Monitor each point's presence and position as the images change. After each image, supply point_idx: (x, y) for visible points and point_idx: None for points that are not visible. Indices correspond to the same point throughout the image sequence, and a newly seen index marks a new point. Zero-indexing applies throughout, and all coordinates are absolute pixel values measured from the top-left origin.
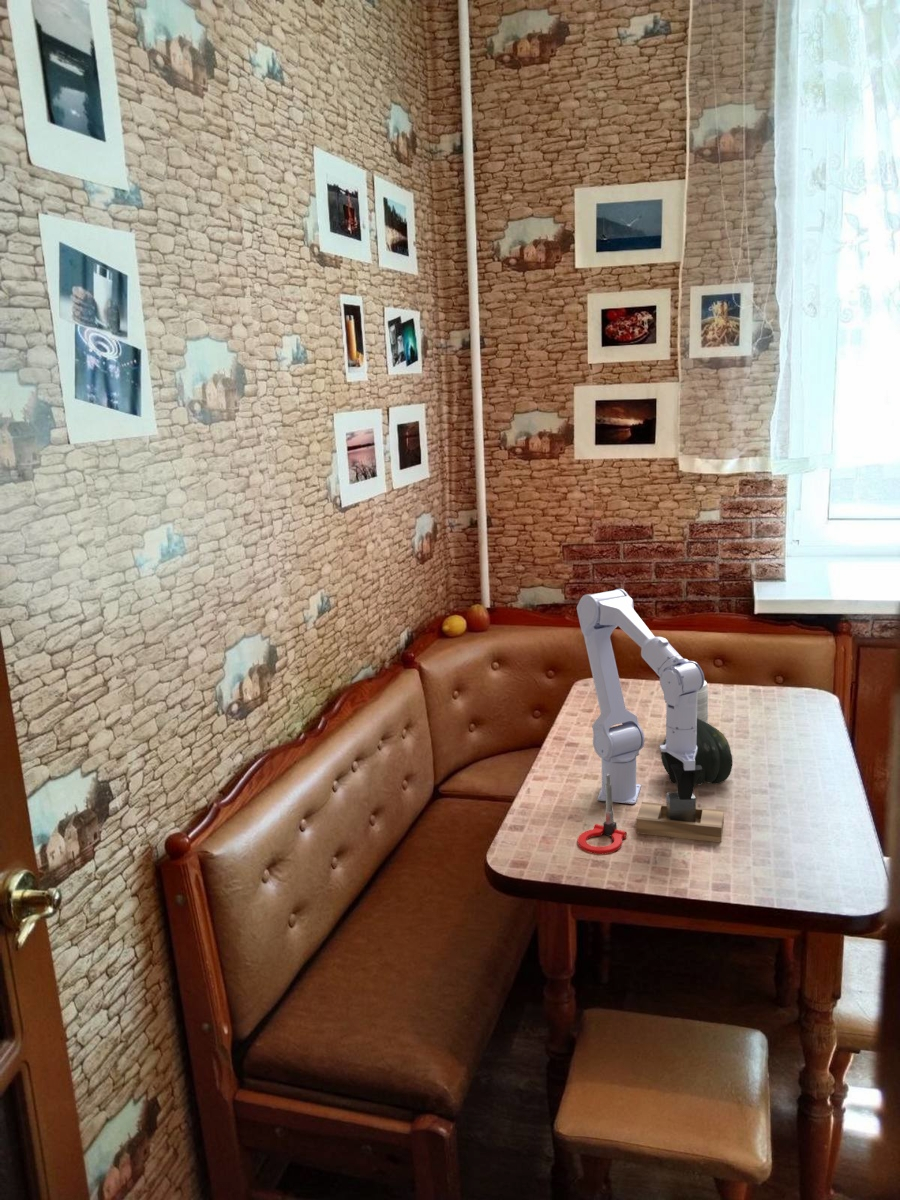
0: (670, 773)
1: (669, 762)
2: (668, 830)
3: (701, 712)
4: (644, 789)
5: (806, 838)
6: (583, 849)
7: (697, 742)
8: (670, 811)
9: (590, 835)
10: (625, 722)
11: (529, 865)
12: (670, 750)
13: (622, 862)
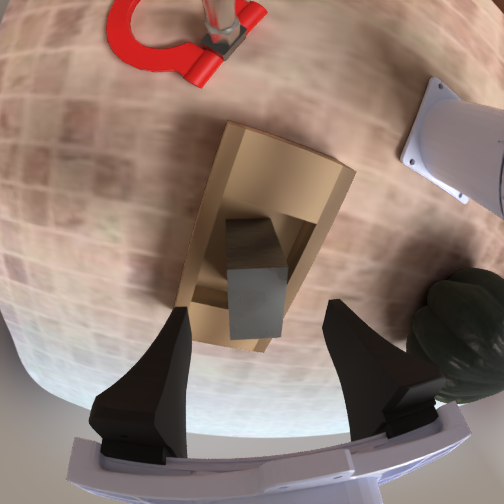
0: (344, 325)
1: (365, 360)
2: (198, 213)
3: None
4: (452, 206)
5: (198, 402)
6: None
7: (465, 375)
8: (226, 245)
9: None
10: None
11: None
12: (225, 498)
13: (65, 77)
